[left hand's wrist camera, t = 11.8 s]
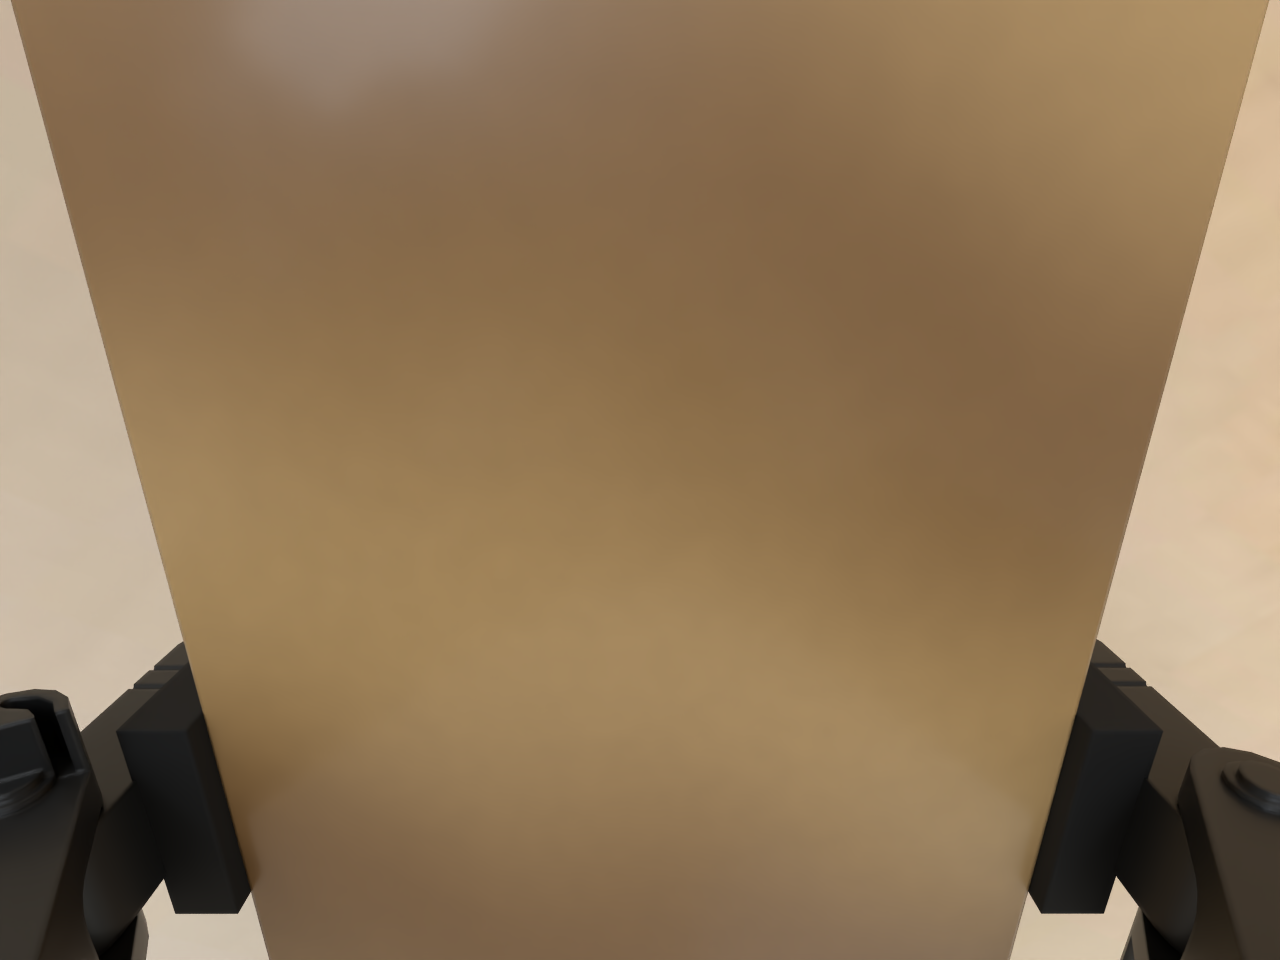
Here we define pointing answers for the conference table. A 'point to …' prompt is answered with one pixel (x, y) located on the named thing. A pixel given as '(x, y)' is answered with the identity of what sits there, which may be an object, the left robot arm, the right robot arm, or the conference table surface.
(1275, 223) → the conference table surface
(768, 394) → the beam
